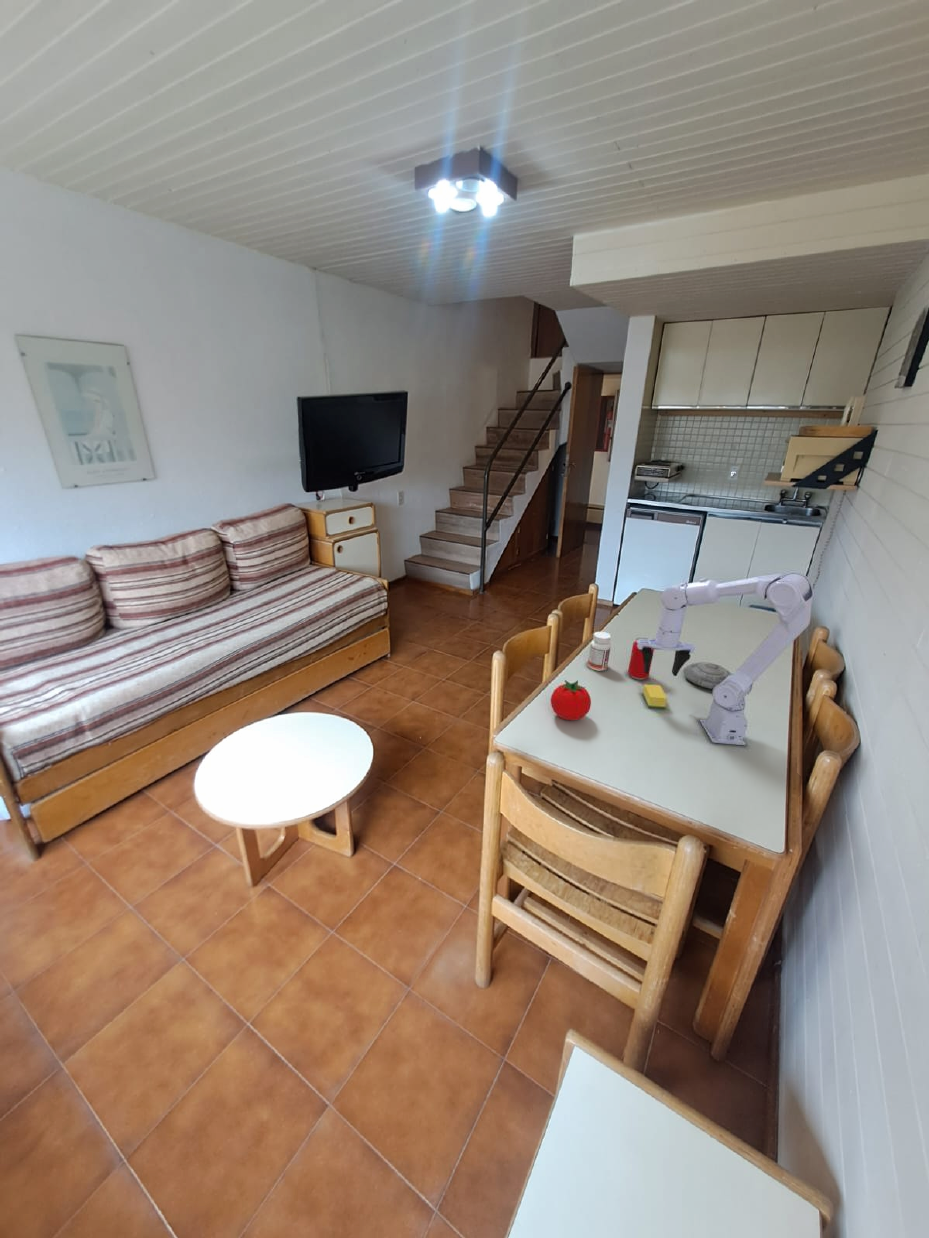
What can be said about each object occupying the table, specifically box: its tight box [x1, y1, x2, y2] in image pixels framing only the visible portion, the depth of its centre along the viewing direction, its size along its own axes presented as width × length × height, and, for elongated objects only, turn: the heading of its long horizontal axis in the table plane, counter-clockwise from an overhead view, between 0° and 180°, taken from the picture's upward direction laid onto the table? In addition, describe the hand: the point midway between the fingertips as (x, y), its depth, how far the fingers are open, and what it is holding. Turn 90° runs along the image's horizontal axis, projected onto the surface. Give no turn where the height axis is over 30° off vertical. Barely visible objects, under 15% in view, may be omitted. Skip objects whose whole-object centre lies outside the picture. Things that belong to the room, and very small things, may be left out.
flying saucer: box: [682, 661, 732, 690], centre depth 151 cm, size 15×15×6 cm
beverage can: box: [627, 637, 655, 680], centre depth 151 cm, size 6×6×12 cm
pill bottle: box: [587, 631, 612, 672], centre depth 156 cm, size 6×6×11 cm
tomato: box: [550, 679, 592, 721], centre depth 130 cm, size 10×10×10 cm
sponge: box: [641, 683, 668, 710], centre depth 139 cm, size 7×4×4 cm, turn 175°
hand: (659, 673), depth 136 cm, fingers open, 7 cm apart
